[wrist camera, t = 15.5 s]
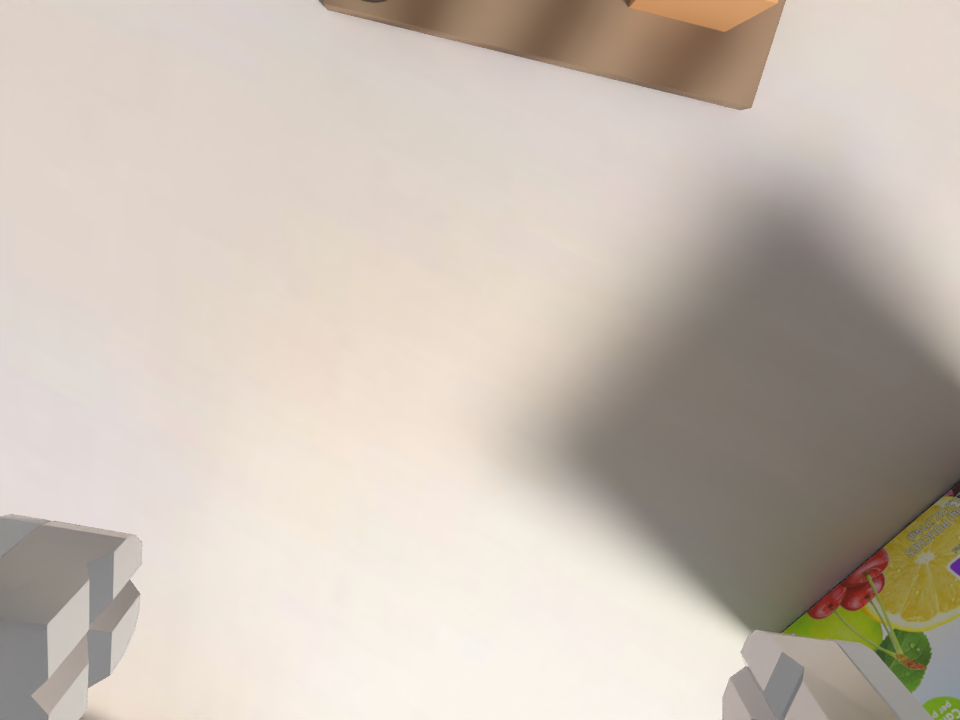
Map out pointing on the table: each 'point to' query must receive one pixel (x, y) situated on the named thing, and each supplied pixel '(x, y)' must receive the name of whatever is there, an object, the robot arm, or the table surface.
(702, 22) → the terracotta block
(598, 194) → the table surface
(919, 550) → the snack box
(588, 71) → the grey post on board
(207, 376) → the table surface
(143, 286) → the table surface
